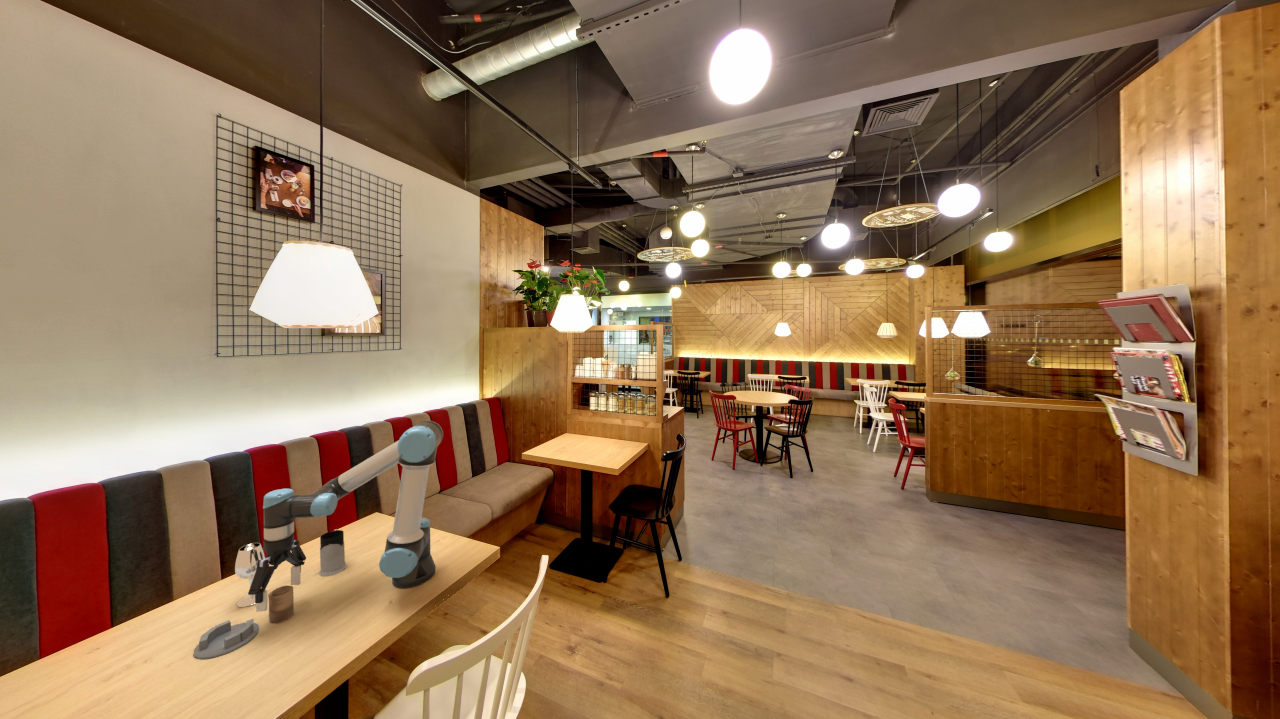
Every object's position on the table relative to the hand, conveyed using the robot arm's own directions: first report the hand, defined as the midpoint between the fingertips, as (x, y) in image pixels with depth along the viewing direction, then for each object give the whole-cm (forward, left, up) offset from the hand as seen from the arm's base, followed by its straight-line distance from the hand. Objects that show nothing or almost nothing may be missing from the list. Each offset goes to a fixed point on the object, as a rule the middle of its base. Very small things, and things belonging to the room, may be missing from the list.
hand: (279, 596), depth 131 cm
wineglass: (+18, -10, -7) cm, 22 cm away
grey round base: (+8, +10, -7) cm, 14 cm away
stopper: (0, 0, -7) cm, 7 cm away
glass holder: (+3, -30, -7) cm, 31 cm away
